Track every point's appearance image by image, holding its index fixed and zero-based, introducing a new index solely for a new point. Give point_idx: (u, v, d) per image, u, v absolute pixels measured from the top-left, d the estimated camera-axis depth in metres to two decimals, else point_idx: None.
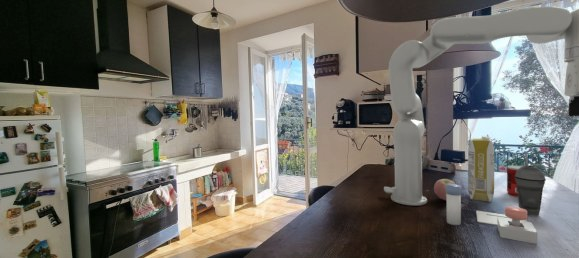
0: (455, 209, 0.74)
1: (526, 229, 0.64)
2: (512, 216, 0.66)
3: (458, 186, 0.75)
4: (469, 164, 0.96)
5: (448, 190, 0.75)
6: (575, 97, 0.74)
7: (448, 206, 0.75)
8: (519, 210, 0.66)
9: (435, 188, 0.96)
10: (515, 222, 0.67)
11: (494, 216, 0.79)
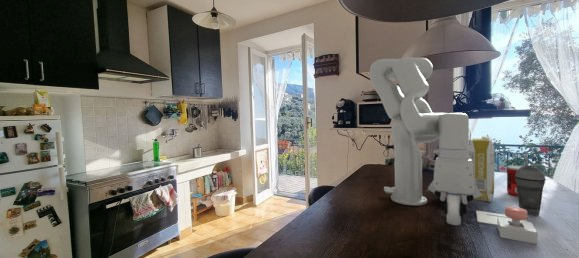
0: (455, 209, 0.74)
1: (526, 229, 0.64)
2: (512, 216, 0.66)
3: None
4: None
5: None
6: None
7: (448, 206, 0.75)
8: (519, 210, 0.66)
9: None
10: (515, 222, 0.67)
11: (494, 216, 0.79)
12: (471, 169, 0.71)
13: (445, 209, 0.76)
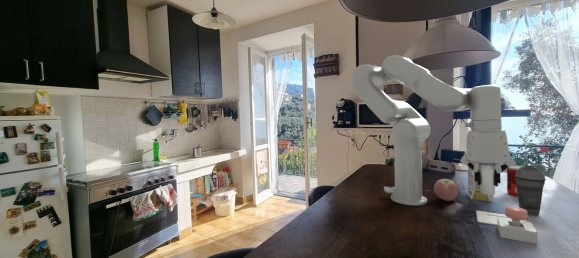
0: (489, 178, 0.76)
1: (526, 229, 0.64)
2: (512, 216, 0.66)
3: None
4: None
5: None
6: None
7: (482, 177, 0.77)
8: (519, 210, 0.66)
9: (435, 188, 0.96)
10: (515, 222, 0.67)
11: (494, 216, 0.79)
12: (505, 138, 0.73)
13: (479, 180, 0.78)
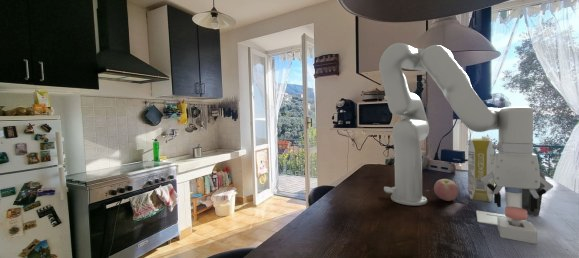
0: None
1: (526, 229, 0.64)
2: (512, 216, 0.66)
3: None
4: (469, 164, 0.96)
5: (508, 188, 0.74)
6: (495, 186, 0.77)
7: (508, 204, 0.74)
8: (519, 210, 0.66)
9: (435, 188, 0.96)
10: (515, 222, 0.67)
11: (494, 216, 0.79)
12: (537, 163, 0.70)
13: (499, 202, 0.75)
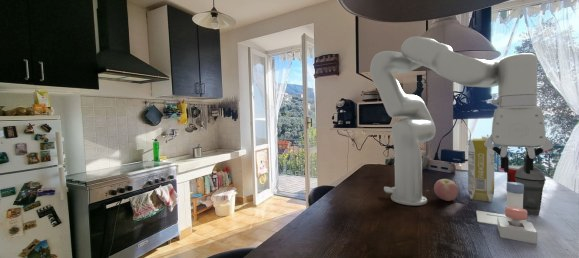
0: (518, 207, 0.73)
1: (526, 229, 0.64)
2: (512, 216, 0.66)
3: (521, 184, 0.73)
4: (469, 164, 0.96)
5: (510, 188, 0.74)
6: None
7: (509, 204, 0.74)
8: (519, 210, 0.66)
9: (435, 188, 0.96)
10: (515, 222, 0.67)
11: (494, 216, 0.79)
12: (542, 116, 0.61)
13: (507, 166, 0.66)
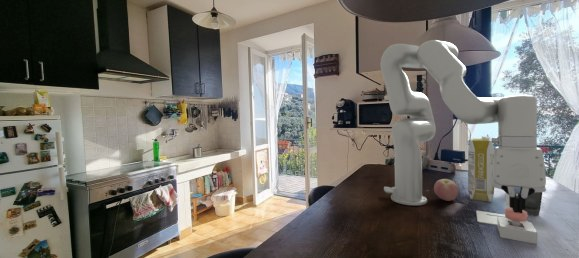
0: None
1: (526, 229, 0.64)
2: (512, 217, 0.66)
3: None
4: (469, 164, 0.96)
5: None
6: None
7: None
8: None
9: (435, 188, 0.96)
10: (515, 223, 0.67)
11: (494, 216, 0.79)
12: (542, 159, 0.62)
13: (516, 206, 0.66)
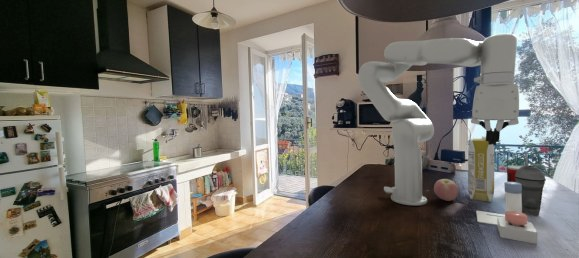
0: (517, 207, 0.73)
1: (526, 229, 0.64)
2: (512, 221, 0.66)
3: (518, 184, 0.73)
4: (469, 164, 0.96)
5: (508, 188, 0.74)
6: None
7: (509, 205, 0.74)
8: (519, 215, 0.66)
9: (435, 188, 0.96)
10: None
11: (494, 216, 0.79)
12: (517, 93, 0.67)
13: (491, 139, 0.72)
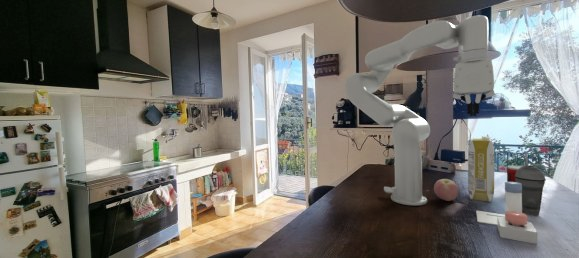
0: (518, 207, 0.73)
1: (526, 229, 0.64)
2: (512, 221, 0.66)
3: (519, 183, 0.74)
4: (469, 164, 0.96)
5: (509, 188, 0.74)
6: None
7: (509, 204, 0.74)
8: (519, 215, 0.66)
9: (435, 188, 0.96)
10: None
11: (494, 216, 0.79)
12: (491, 67, 0.75)
13: (471, 111, 0.79)
